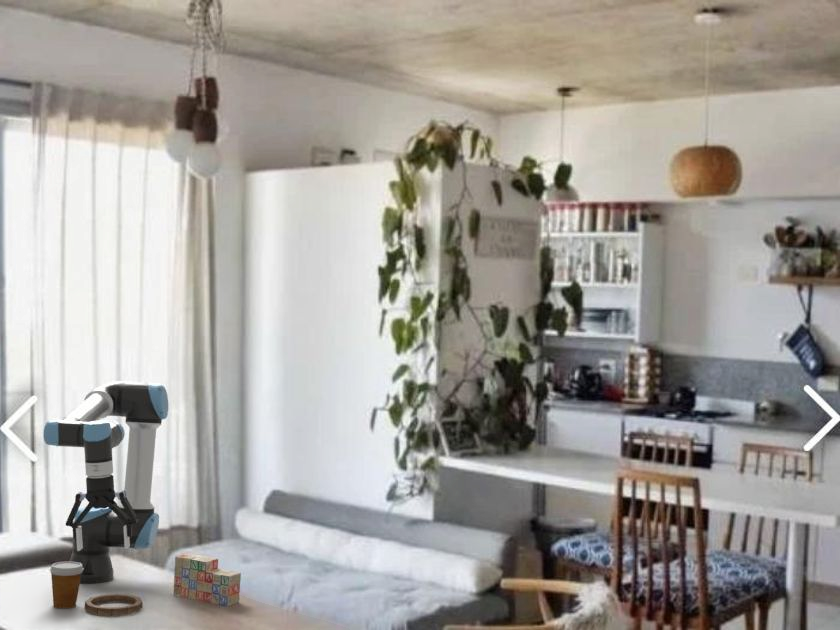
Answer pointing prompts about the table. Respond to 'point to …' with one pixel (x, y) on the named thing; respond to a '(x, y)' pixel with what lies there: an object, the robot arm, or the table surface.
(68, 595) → the disposable coffee cup
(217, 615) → the table surface
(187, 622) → the table surface
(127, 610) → the walnut bead ring
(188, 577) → the stack of blocks
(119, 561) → the table surface
